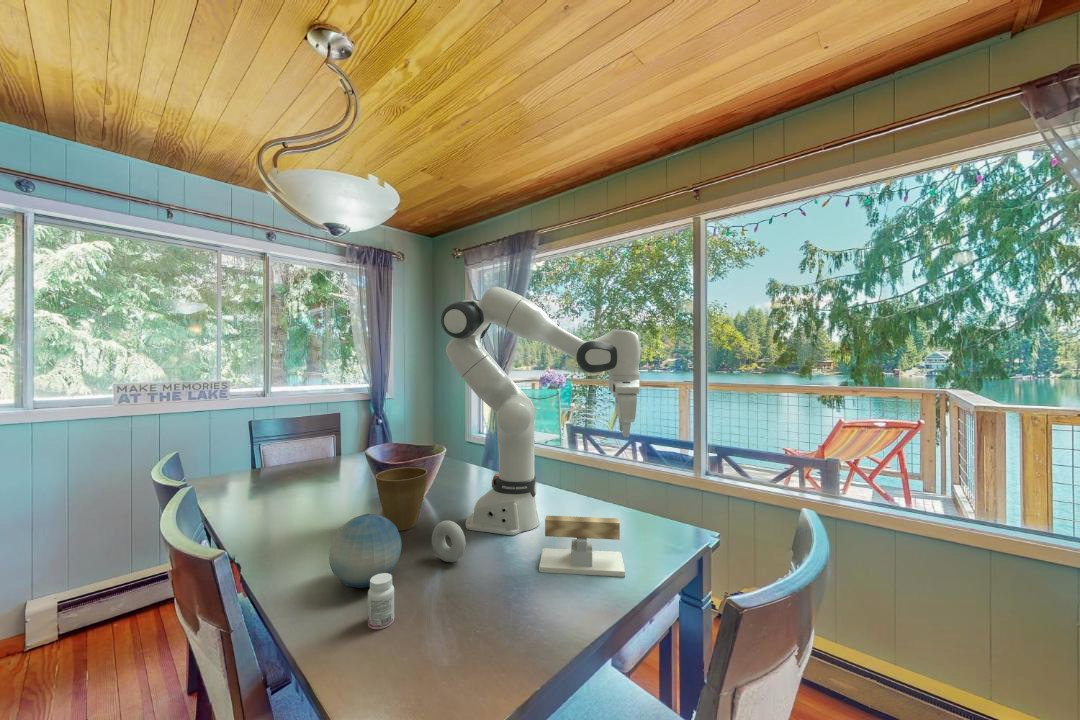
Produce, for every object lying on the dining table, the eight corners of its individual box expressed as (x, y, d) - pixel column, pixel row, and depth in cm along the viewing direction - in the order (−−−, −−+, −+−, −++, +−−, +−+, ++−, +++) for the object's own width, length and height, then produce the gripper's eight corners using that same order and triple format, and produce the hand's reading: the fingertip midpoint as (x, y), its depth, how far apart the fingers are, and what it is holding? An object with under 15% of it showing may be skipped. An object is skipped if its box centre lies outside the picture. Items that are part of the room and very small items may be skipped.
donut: (468, 563, 103) (468, 522, 103) (459, 569, 100) (459, 527, 100) (438, 553, 108) (438, 515, 108) (428, 559, 105) (428, 519, 105)
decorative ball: (400, 596, 89) (400, 525, 89) (321, 607, 84) (322, 533, 84) (402, 563, 103) (402, 502, 103) (335, 571, 99) (335, 508, 99)
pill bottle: (372, 615, 82) (372, 572, 82) (397, 614, 82) (397, 571, 82) (364, 630, 77) (364, 585, 77) (390, 629, 77) (390, 584, 78)
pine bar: (544, 536, 102) (545, 519, 102) (546, 531, 105) (546, 515, 105) (619, 539, 100) (619, 523, 100) (618, 534, 103) (618, 518, 103)
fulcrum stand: (539, 572, 99) (539, 542, 99) (543, 552, 109) (543, 525, 109) (625, 576, 97) (625, 546, 97) (621, 556, 107) (621, 529, 107)
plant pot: (425, 514, 135) (426, 465, 136) (428, 532, 121) (429, 477, 121) (376, 520, 131) (376, 468, 131) (373, 539, 117) (373, 481, 117)
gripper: (610, 383, 130) (610, 427, 130) (615, 387, 110) (615, 440, 110) (631, 383, 130) (631, 428, 129) (640, 387, 109) (640, 440, 109)
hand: (624, 433), depth 119 cm, fingers open, 8 cm apart
